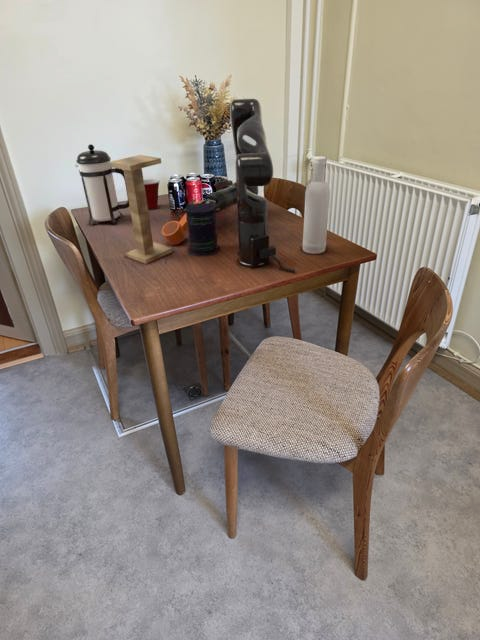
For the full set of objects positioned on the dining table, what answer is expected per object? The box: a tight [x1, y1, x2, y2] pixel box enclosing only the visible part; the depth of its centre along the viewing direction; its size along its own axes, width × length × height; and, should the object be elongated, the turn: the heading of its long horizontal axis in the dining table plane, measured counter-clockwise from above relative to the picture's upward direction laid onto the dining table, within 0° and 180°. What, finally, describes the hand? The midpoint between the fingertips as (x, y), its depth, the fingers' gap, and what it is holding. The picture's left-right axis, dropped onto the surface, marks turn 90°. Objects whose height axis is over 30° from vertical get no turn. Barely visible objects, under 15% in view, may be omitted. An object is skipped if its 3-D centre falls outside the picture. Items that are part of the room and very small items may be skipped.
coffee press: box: [74, 144, 130, 226], centre depth 169 cm, size 17×16×30 cm
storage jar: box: [185, 203, 218, 256], centre depth 143 cm, size 10×10×15 cm
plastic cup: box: [143, 178, 161, 211], centre depth 187 cm, size 11×11×12 cm
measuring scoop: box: [161, 200, 201, 246], centre depth 152 cm, size 19×7×5 cm
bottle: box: [302, 155, 331, 255], centre depth 136 cm, size 8×8×30 cm
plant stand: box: [109, 154, 173, 265], centre depth 136 cm, size 12×10×31 cm
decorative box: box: [204, 175, 234, 195], centre depth 192 cm, size 13×20×10 cm, turn 134°
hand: (188, 212), depth 153 cm, fingers closed on measuring scoop, 3 cm apart
